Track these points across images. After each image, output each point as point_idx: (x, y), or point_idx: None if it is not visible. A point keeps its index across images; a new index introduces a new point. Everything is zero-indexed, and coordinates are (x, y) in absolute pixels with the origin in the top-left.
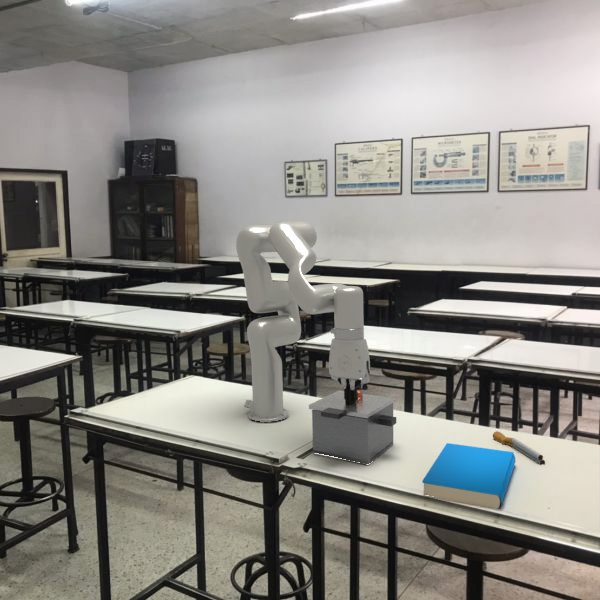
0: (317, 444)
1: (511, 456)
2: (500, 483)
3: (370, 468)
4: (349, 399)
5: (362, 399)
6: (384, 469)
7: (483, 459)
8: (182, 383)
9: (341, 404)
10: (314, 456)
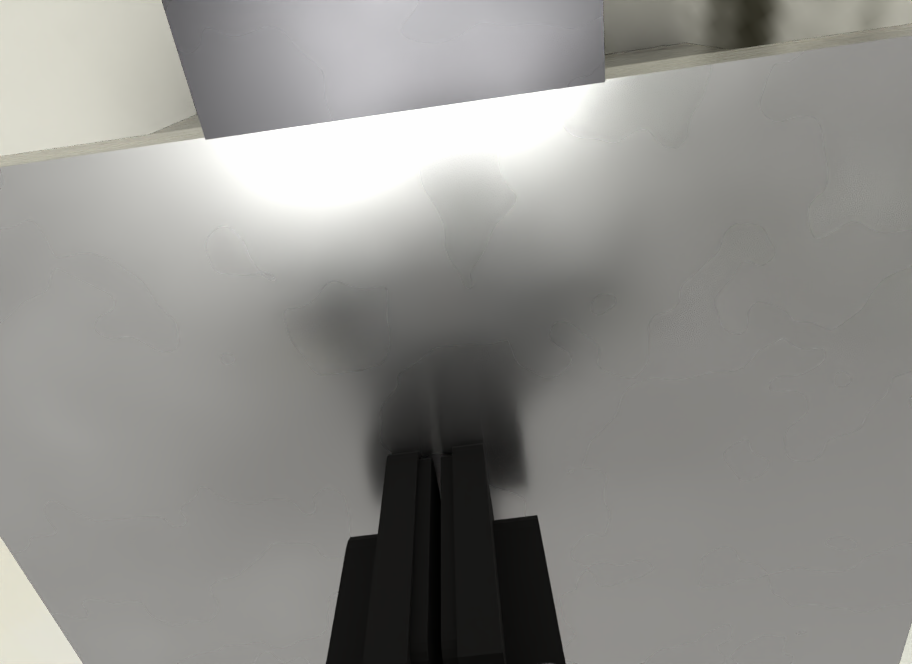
0: (669, 56)
1: None
2: None
3: (146, 80)
4: (403, 504)
5: None
6: (62, 128)
7: None
8: None
9: (527, 396)
10: (651, 7)
